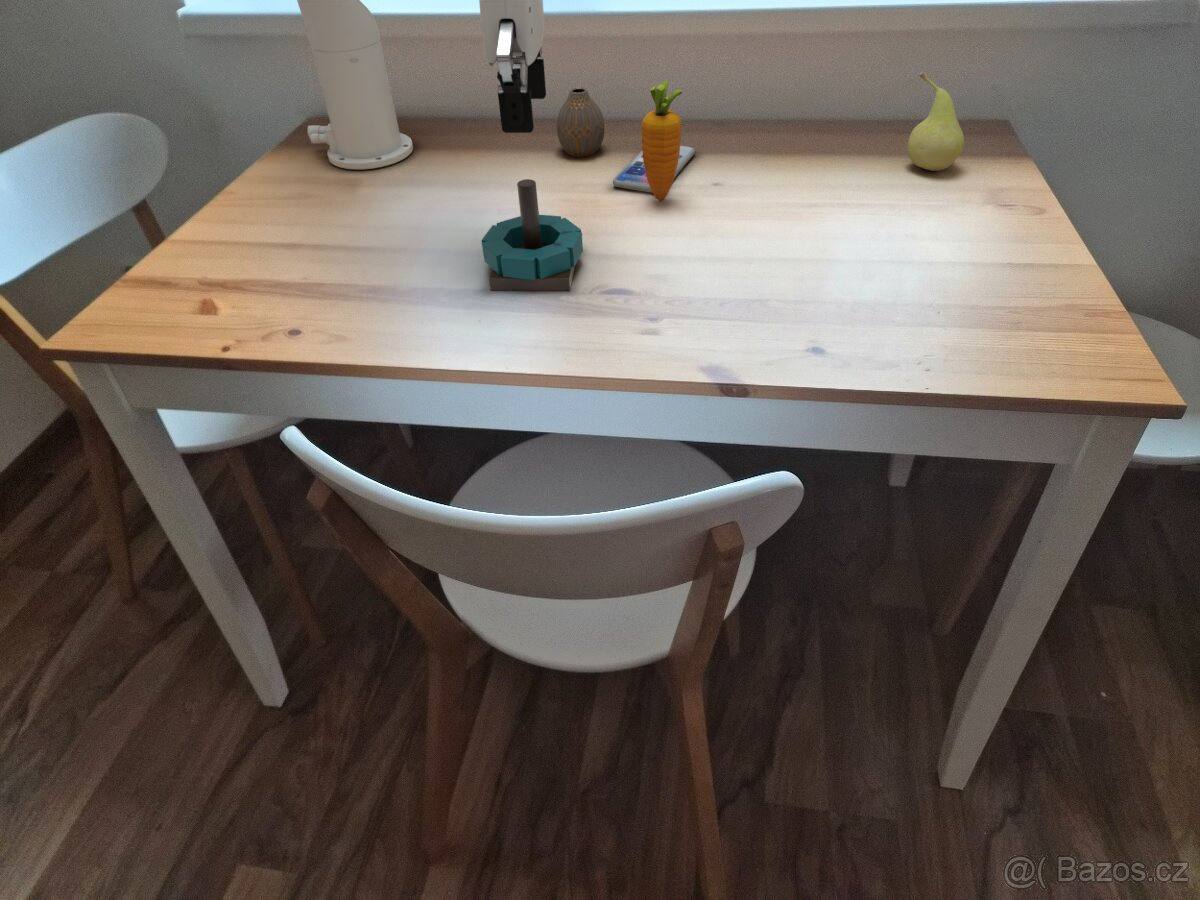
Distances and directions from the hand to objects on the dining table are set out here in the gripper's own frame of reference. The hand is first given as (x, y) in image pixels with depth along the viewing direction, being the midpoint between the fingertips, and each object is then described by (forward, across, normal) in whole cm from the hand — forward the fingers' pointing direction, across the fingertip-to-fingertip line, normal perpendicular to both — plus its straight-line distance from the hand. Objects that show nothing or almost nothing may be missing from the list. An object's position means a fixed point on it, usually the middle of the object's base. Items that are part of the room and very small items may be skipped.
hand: (525, 114), depth 86 cm
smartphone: (+16, -24, +13) cm, 32 cm away
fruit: (+16, -24, +50) cm, 58 cm away
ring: (+15, +4, 0) cm, 15 cm away
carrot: (+16, -14, +14) cm, 26 cm away
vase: (+17, -30, +2) cm, 35 cm away
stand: (+16, +4, 0) cm, 17 cm away
